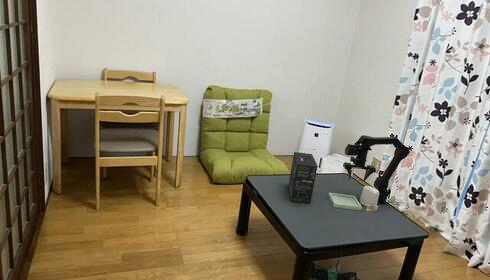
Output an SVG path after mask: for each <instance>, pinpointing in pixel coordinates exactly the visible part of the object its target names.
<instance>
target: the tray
mask: <svg viewBox="0 0 490 280" xmlns="http://www.w3.org/2000/svg"><path fill="white" fill-rule="evenodd" d="M328 198H329V201H330V202H331V204H332V207H333V208H336V209H342V210H351V211H362V208H363V207H362V204H361V203H360V201H359V200H358V198H357V197H356V196H355V195H352V194H343V193H335V192H328Z"/></svg>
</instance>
